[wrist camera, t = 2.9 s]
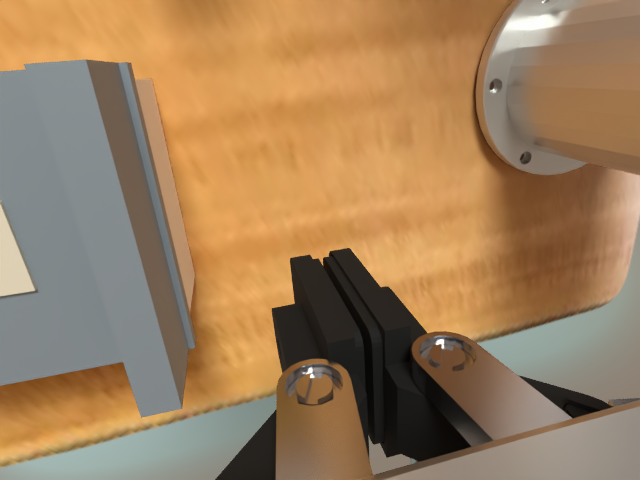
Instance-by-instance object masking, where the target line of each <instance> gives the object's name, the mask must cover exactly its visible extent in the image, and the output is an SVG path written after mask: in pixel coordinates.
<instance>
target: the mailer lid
mask: <svg viewBox="0 0 640 480" xmlns="http://www.w3.org/2000/svg"><path fill="white" fill-rule="evenodd" d="M24 65H25V69H26V70H16V71H2V72H0V386H2V385H7V384H12V383H17V382H22V381H27V380H33V379H38V378H43V377H48V376H53V375H58V374H64V373H69V372H74V371H79V370H84V369H89V368H95V367H100V366H105V365H110V364H115V363H120V362H123V364H124V367H125V370H126V373H127V376H128V379H129V382H130V385H131V388H132V391H133V394H134V397H135V400H136V403H137V406H138V409H139V412H140V415H141V417H146V416H150V415H155V414H160V413H164V412H169V411H173V410H178V409H182V404H183V395H184V387H185V379H186V370H187V362H188V353H189V349H193V348H195V344H196V336H195V332H194V328H193V324H192V319H191V315H190V311H189V307H188V302H187V298H186V294H185V290H184V286H183V281H182V277H181V273H180V269H179V264H178V260H177V256H176V252H175V247H174V243H173V239H172V235H171V230H170V226H169V222H168V218H167V214H166V209H165V205H164V201H163V197H162V192H161V188H160V184H159V180H158V175H157V171H156V167H155V163H154V159H153V154H152V150H151V146H150V142H149V137H148V133H147V129H146V125H145V120H144V116H143V112H142V108H141V103H140V99H139V95H138V91H137V87H136V82H135V78H134V74H133V70H132V65H131V63H127V62H125V63H113V62H103V61H93V60H75V61H61V62H46V63H32V64H24Z"/></svg>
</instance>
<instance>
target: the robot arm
mask: <svg viewBox="0 0 640 480" xmlns="http://www.w3.org/2000/svg"><path fill="white" fill-rule="evenodd" d="M489 86H490V88H489ZM476 110H477V115H478V119H479V124H480V128H481V130H482V132H483V135H484V137H485V139H486V141H487V143H488V145H489V146H490V147H491V149H492V150H493V151H494V153H495V154H496V155H497V156H498V157H499V158H501V159H502V160H503V161H504V162H505V163H507V164H508V165H510V166H512V167H514V168H517V169H519V170H521V171H525V172H528V173H532V174H535V175H548V176H550V175H557V174H564V173H567V172H570V171H573V170H576V169H578V168H581V167H582V166H584V165H586V164H588V163H591V164H595V165H599V166H603V167H607V168H611V169H615V170H619V171H624V172H628V173H632V174H636V175H640V0H514V1H513V2H512V3H511V4H510V5H509V7H508V8H507V9H506V10H505V11H504V13H503V14H502V16H501V17H500V19H499V21H498V22H497V24H496V25H495V27H494V29H493V30H492V32H491V35H490V37H489V39H488V42H487V44H486V46H485V48H484V51H483V54H482V58H481V62H480V65H479V69H478V75H477V84H476ZM290 265H291V274H292V283H293V291H294V300H295V304H292V305H287V306H282V307H277V308H272V315H273V322H274V329H275V336H276V342H277V348H278V354H279V359H280V364H281V368H282V372H283V374H282V375H281V377H280V378H279V380H278V385H277V409H276V410H275V412H274V413H273V414H272V415H271V416H270V417H269V418H268V420H267V421H266V422H265V423H264V424H263V425H262V427H261V428H260V429H259V430H258V431H257V432H256V433H255V435H254V436H253V437H252V438H251V439H250V440H249V441H248V443H247V444H246V445H245V446H244V447H243V448H242V450H241V451H240V452H239V453H238V454H237V455H236V456H235V458H234V459H233V460H232V461H231V462H230V463H229V465H228V466H227V467H226V468H225V469H224V470H223V471H222V473H221V474H220V475H219V476H218V477H217V479H215V480H640V398H630V399H611V400H609V402H608V404H607V403H605V402H603V401H602V400H599V399H596V398H594V397H591V396H588V395H585V394H582V393H578V392H575V391H571V390H568V389H564V388H561V387H557V386H554V385H550V384H547V383H543V382H539V381H536V380H532V379H529V378H526V377H522V376H518V375H516V374H515V373H514V372H513V371H511V370H510V369H509V368H508V367H506V366H505V365H504V364H503V363H501V362H500V361H499V360H497V359H496V358H495V357H493V356H492V355H491V354H490V353H488V352H487V351H486V350H484V349H483V348H482V347H481V346H480V345H478V344H477V343H476V342H474V341H473V340H471V339H469V338H468V337H466V336H463V335H460V334H457V333H452V332H446V331H444V332H431V333H427V332H426V331H425V330H424V328H423V327H422V326H421V325H420V324H419V322H418V321H417V320H416V319H415V318H414V316H413V315H412V314H411V313H410V312H409V310H408V309H407V308H406V307H405V306H404V304H403V303H402V302H401V301H400V300H399V298H398V297H397V296H396V295H395V294H394V292H393V291H392V290H391V289H390V288H389V287H386V286H385V287H380V286H379V285H378V283H377V282H376V281H375V280H374V278H373V277H372V276H371V275H370V273H369V272H368V271H367V269H366V268H365V267H364V266H363V264H362V263H361V262H360V261H359V259H358V258H357V257H356V256H355V254H354V253H353V252H352V250H351V249H350V248H347V249H341V250H335V251H330V253H329V257H324V258H323V265H322V264H321V262H320V260H319V259H312V257H311V256H310V255H306V256H300V257H294V258H290ZM368 435H369V437H370V439H371V441H372V443H373V444H378V443H380V444H381V446H382V448H383V450H384V453H385V455H386V457H390V456H394V455H398V454H403V455H405V456H407V457H410V462H411V464H410V465H407V466H404V467H400V468H396V469H393V470H390V471H386V472H383V473H379V474H376V475H373V474H372V470H371V466H370V461H369V442H368Z"/></svg>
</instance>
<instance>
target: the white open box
mask: <svg viewBox="0 0 640 480" xmlns="http://www.w3.org/2000/svg"><path fill="white" fill-rule="evenodd" d="M135 82H136V87H137V91H138V95H139V99H140V103H141V108H142V112H143V116H144V120H145V125H146V129H147V133H148V137H149V142H150V146H151V150H152V154H153V159H154V163H155V167H156V171H157V175H158V180H159V184H160V188H161V192H162V197H163V201H164V205H165V209H166V214H167V218H168V222H169V226H170V230H171V235H172V239H173V243H174V247H175V252H176V256H177V260H178V264H179V269H180V273H181V277H182V281H183V286H184V290H185V294H186V298H187V302H188V307H189V311H190V310H191V302H192V295H193V287H194V280H195V273H194V268H193V263H192V259H191V254H190V250H189V245H188V241H187V236H186V232H185V227H184V223H183V218H182V214H181V209H180V205H179V200H178V196H177V191H176V186H175V182H174V177H173V173H172V168H171V164H170V159H169V155H168V150H167V146H166V141H165V137H164V132H163V128H162V123H161V119H160V114H159V109H158V105H157V100H156V96H155V91H154V87H153V82H152V78H148V79H135Z"/></svg>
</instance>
